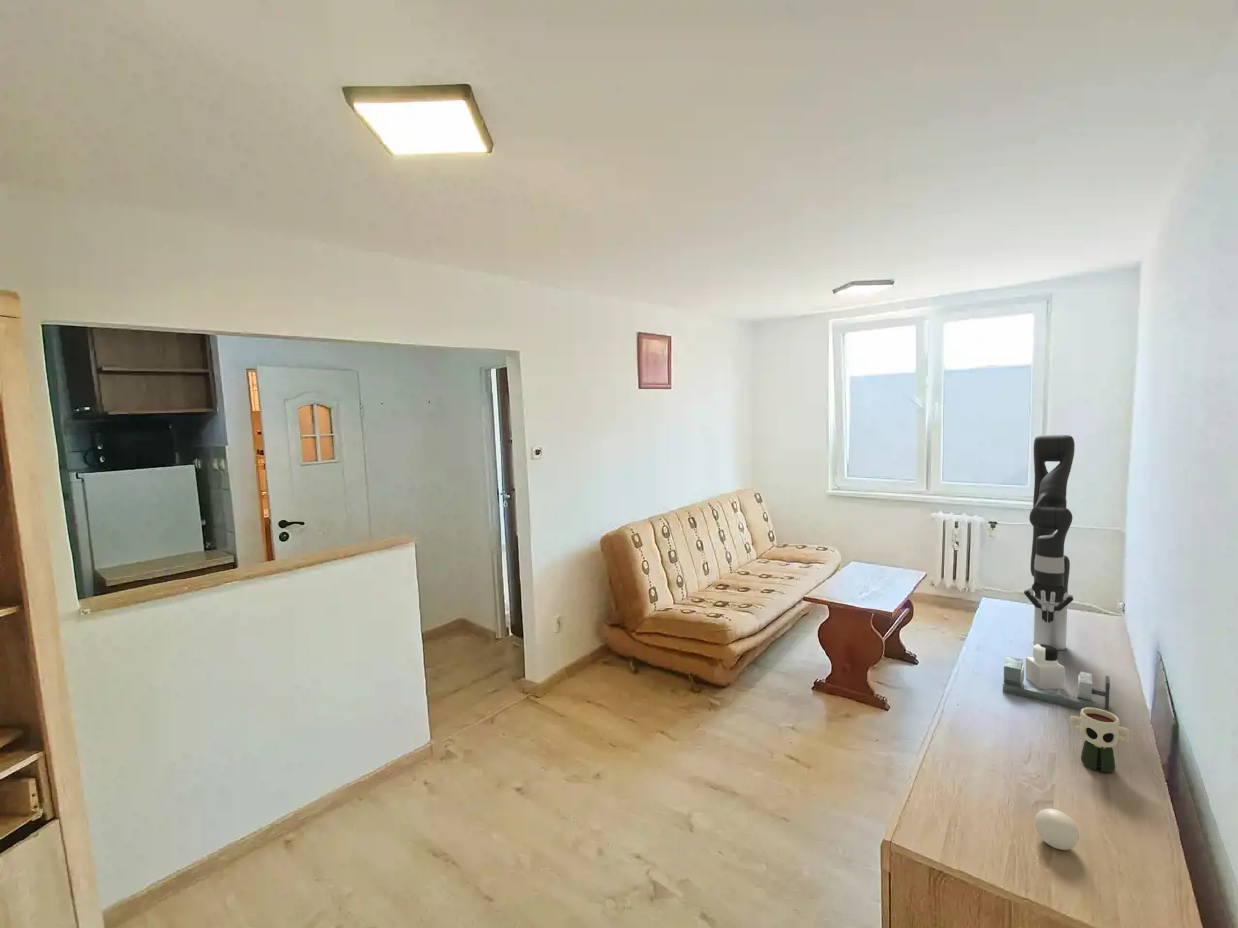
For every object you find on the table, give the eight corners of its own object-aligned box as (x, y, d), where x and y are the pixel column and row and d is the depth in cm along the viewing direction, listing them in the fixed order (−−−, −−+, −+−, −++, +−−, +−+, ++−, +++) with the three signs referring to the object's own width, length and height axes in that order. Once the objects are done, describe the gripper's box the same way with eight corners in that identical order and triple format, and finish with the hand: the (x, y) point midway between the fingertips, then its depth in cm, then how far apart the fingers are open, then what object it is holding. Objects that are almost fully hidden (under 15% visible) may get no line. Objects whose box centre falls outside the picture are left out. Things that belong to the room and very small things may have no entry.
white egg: (1062, 830, 115) (1063, 800, 114) (1085, 859, 108) (1087, 827, 107) (1026, 828, 116) (1027, 798, 115) (1047, 856, 109) (1048, 824, 108)
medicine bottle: (1048, 678, 176) (1050, 641, 175) (1064, 689, 169) (1065, 651, 168) (1024, 677, 177) (1025, 641, 176) (1039, 689, 170) (1040, 651, 169)
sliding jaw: (1077, 694, 166) (1078, 668, 165) (1107, 701, 161) (1109, 674, 160) (1077, 705, 160) (1078, 678, 159) (1108, 712, 155) (1110, 685, 155)
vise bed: (1006, 678, 177) (1006, 656, 176) (1095, 698, 163) (1096, 674, 162) (1002, 691, 169) (1003, 668, 168) (1095, 714, 155) (1096, 688, 155)
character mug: (1068, 765, 135) (1070, 714, 133) (1068, 750, 140) (1070, 701, 139) (1129, 782, 128) (1132, 729, 127) (1126, 766, 134) (1129, 714, 132)
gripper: (1076, 569, 175) (1074, 622, 177) (1024, 563, 184) (1022, 613, 185) (1076, 575, 169) (1074, 630, 171) (1022, 568, 178) (1020, 621, 180)
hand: (1047, 621), depth 178 cm, fingers closed
